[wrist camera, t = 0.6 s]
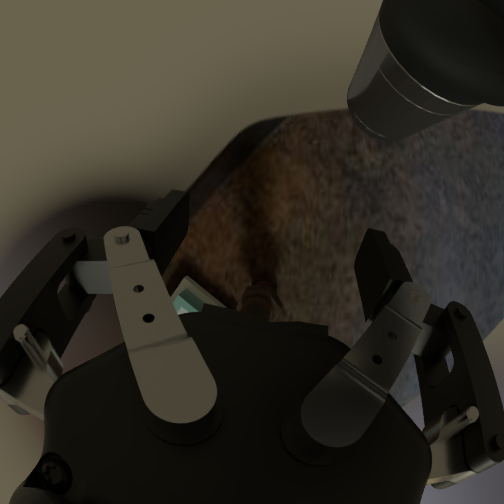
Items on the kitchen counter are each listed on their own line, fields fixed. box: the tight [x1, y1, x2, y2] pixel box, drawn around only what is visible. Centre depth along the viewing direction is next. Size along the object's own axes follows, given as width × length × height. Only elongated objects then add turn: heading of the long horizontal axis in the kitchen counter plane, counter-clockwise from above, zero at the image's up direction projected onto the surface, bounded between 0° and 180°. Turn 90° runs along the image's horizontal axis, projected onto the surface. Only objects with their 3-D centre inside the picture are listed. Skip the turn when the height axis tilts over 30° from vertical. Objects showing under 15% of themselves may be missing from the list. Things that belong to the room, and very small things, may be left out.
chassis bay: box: [170, 275, 227, 315], centre depth 37 cm, size 16×12×4 cm
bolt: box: [236, 281, 282, 322], centre depth 28 cm, size 6×5×15 cm
